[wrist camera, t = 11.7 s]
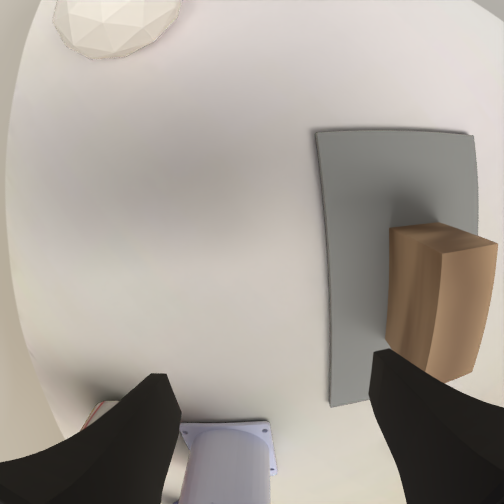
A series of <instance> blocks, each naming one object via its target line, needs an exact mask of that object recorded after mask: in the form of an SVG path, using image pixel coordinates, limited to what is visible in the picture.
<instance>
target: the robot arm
mask: <svg viewBox="0 0 504 504" xmlns="http://www.w3.org/2000/svg"><path fill="white" fill-rule="evenodd" d="M368 394H369V398H370V401H371V405H372V408H373V411H374V415H375V417H376V420H377V422H378V424H379V426H380V429H381V431H382V433H383V435H384V438H385V440H386V442H387V444H388V446H389V449H390V451H391V453H392V455H393V458H394V460H395V462H396V465H397V468H398V471H399V474H400V478H401V481H402V485H403V489H404V493H405V497H406V502H407V504H504V408H503V407H499V406H496V405H492V404H489V403H486V402H483V401H481V400H478V399H476V398H473V397H471V396H469V395H466V394H464V393H462V392H460V391H458V390H456V389H454V388H452V387H450V386H448V385H446V384H444V383H443V382H441V381H439V380H438V379H436V378H434V377H433V376H431V375H429V374H428V373H426V372H425V371H423V370H421V369H420V368H418V367H417V366H415V365H414V364H412V363H411V362H409V361H408V360H406V359H405V358H403V357H402V356H401V355H399V354H398V353H396V352H395V351H393V350H391V349H390V348H388V349H384V350H379V351H375V352H373V361H372V369H371V378H370V385H369V392H368ZM180 420H181V410H180V408H179V405H178V403H177V400H176V398H175V395H174V393H173V390H172V387H171V385H170V382H169V380H168V377H167V374H154V373H151V374H150V375H149V376H147V377H146V378H145V379H144V380H143V381H142V382H140V383H139V384H138V385H137V386H136V387H135V388H134V389H133V390H132V391H130V392H129V393H128V394H127V395H126V396H125V397H124V398H123V399H121V400H120V401H119V402H118V403H117V404H116V405H115V406H113V407H112V408H111V409H110V410H108V411H107V412H106V413H105V414H103V415H102V416H101V417H100V418H98V419H97V420H96V421H94V422H93V423H92V424H90V425H89V426H87V427H86V428H85V429H83V430H81V431H80V432H78V433H77V434H75V435H73V436H72V437H70V438H68V439H66V440H64V441H62V442H60V443H58V444H56V445H54V446H52V447H50V448H48V449H46V450H43V451H40V452H38V453H36V454H32V455H29V456H26V457H23V458H19V459H15V460H11V461H5V462H1V463H0V504H160V503H161V496H162V490H163V486H164V482H165V479H166V475H167V472H168V468H169V465H170V462H171V459H172V455H173V452H174V449H175V445H176V442H177V438H178V434H179V430H180V433H181V435H182V437H183V439H184V441H185V443H186V445H187V447H188V449H189V451H190V454H189V458H188V463H187V467H186V471H185V476H184V480H183V485H182V489H181V494H180V499H179V503H178V504H271V502H270V476H273V475H277V473H278V470H277V464H276V458H275V452H274V445H273V439H272V433H271V426H270V423H269V422H267V421H256V422H239V423H180Z"/></svg>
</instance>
